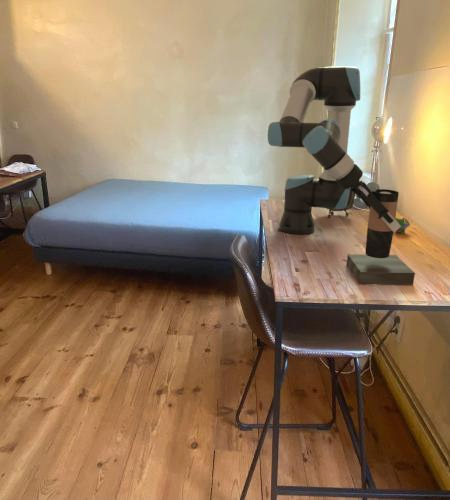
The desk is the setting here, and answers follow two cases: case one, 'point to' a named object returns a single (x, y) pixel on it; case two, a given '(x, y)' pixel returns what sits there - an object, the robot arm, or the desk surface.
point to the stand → (380, 270)
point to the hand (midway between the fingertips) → (392, 225)
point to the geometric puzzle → (402, 225)
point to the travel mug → (381, 225)
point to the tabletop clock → (348, 206)
